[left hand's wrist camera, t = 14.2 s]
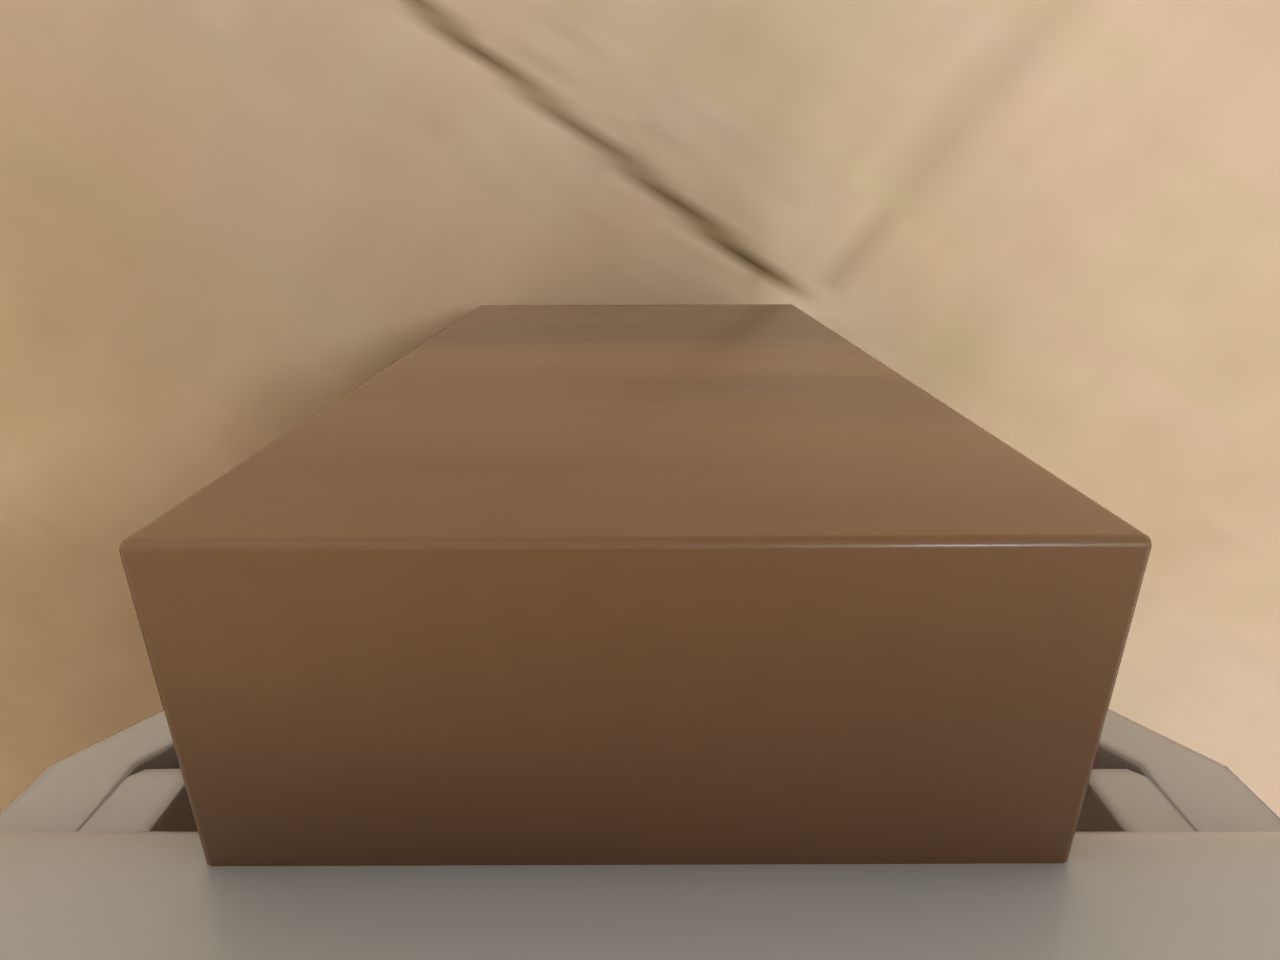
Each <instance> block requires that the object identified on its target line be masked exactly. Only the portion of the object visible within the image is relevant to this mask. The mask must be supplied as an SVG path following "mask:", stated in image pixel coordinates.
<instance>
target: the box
mask: <svg viewBox="0 0 1280 960" xmlns="http://www.w3.org/2000/svg"><path fill="white" fill-rule="evenodd" d="M1150 550H1151V540H1150V538H1149V537H1148V536H1147V535H1146V534H1144V533H1142V532H1141V531H1139V530H1138V529H1136V528H1135V527H1133V526H1132V525H1130V524H1129V523H1127V522H1126V521H1124V520H1122V519H1121V518H1119V517H1118V516H1116V515H1115V514H1113V513H1112V512H1110V511H1109V510H1107V509H1106V508H1104V507H1103V506H1101V505H1099V504H1098V503H1096V502H1095V501H1093V500H1092V499H1090V498H1089V497H1087V496H1086V495H1084V494H1083V493H1081V492H1079V491H1078V490H1076V489H1075V488H1073V487H1072V486H1070V485H1069V484H1067V483H1066V482H1064V481H1063V480H1061V479H1059V478H1058V477H1056V476H1055V475H1053V474H1052V473H1050V472H1049V471H1047V470H1046V469H1044V468H1043V467H1041V466H1039V465H1038V464H1036V463H1035V462H1033V461H1032V460H1030V459H1029V458H1027V457H1026V456H1024V455H1023V454H1021V453H1019V452H1018V451H1016V450H1015V449H1013V448H1012V447H1010V446H1009V445H1007V444H1006V443H1004V442H1003V441H1001V440H999V439H998V438H996V437H995V436H993V435H992V434H990V433H989V432H987V431H986V430H984V429H983V428H981V427H979V426H978V425H976V424H975V423H973V422H972V421H970V420H969V419H967V418H966V417H964V416H963V415H961V414H959V413H958V412H956V411H955V410H953V409H952V408H950V407H949V406H947V405H946V404H944V403H943V402H941V401H939V400H938V399H936V398H935V397H933V396H932V395H930V394H929V393H927V392H926V391H924V390H923V389H921V388H919V387H918V386H916V385H915V384H913V383H912V382H910V381H909V380H907V379H906V378H904V377H903V376H901V375H899V374H898V373H896V372H895V371H893V370H892V369H890V368H889V367H887V366H886V365H884V364H883V363H881V362H879V361H878V360H876V359H875V358H873V357H872V356H870V355H869V354H867V353H866V352H864V351H863V350H861V349H859V348H858V347H856V346H855V345H853V344H852V343H850V342H849V341H847V340H846V339H844V338H843V337H841V336H839V335H838V334H836V333H835V332H833V331H832V330H830V329H829V328H827V327H826V326H824V325H823V324H821V323H819V322H818V321H816V320H815V319H813V318H812V317H810V316H809V315H807V314H806V313H804V312H803V311H801V310H799V309H798V308H796V307H795V306H793V305H553V306H480V307H478V308H477V309H475V310H473V311H472V312H470V313H469V314H467V315H466V316H464V317H463V318H461V319H460V320H458V321H457V322H455V323H454V324H452V325H451V326H449V327H448V328H446V329H445V330H443V331H442V332H440V333H439V334H437V335H435V336H434V337H432V338H431V339H429V340H428V341H426V342H425V343H423V344H422V345H420V346H419V347H417V348H416V349H414V350H413V351H411V352H410V353H408V354H407V355H405V356H404V357H402V358H401V359H399V360H398V361H396V362H394V363H393V364H391V365H390V366H388V367H387V368H385V369H384V370H382V371H381V372H379V373H378V374H376V375H375V376H373V377H372V378H370V379H369V380H367V381H366V382H364V383H363V384H361V385H360V386H358V387H357V388H355V389H353V390H352V391H350V392H349V393H347V394H346V395H344V396H343V397H341V398H340V399H338V400H337V401H335V402H334V403H332V404H331V405H329V406H328V407H326V408H325V409H323V410H322V411H320V412H319V413H317V414H316V415H314V416H312V417H311V418H309V419H308V420H306V421H305V422H303V423H302V424H300V425H299V426H297V427H296V428H294V429H293V430H291V431H290V432H288V433H287V434H285V435H284V436H282V437H281V438H279V439H278V440H276V441H275V442H273V443H271V444H270V445H268V446H267V447H265V448H264V449H262V450H261V451H259V452H258V453H256V454H255V455H253V456H252V457H250V458H249V459H247V460H246V461H244V462H243V463H241V464H240V465H238V466H237V467H235V468H233V469H232V470H230V471H229V472H227V473H226V474H224V475H223V476H221V477H220V478H218V479H217V480H215V481H214V482H212V483H211V484H209V485H208V486H206V487H205V488H203V489H202V490H200V491H199V492H197V493H196V494H194V495H192V496H191V497H189V498H188V499H186V500H185V501H183V502H182V503H180V504H179V505H177V506H176V507H174V508H173V509H171V510H170V511H168V512H167V513H165V514H164V515H162V516H161V517H159V518H158V519H156V520H155V521H153V522H151V523H150V524H148V525H147V526H145V527H144V528H142V529H141V530H139V531H138V532H136V533H135V534H133V535H132V536H130V537H129V538H127V539H126V540H124V541H123V542H122V543H121V545H120V555H121V559H122V562H123V566H124V570H125V573H126V577H127V580H128V584H129V587H130V591H131V595H132V598H133V602H134V605H135V609H136V612H137V616H138V619H139V623H140V627H141V630H142V634H143V637H144V641H145V644H146V648H147V652H148V655H149V659H150V662H151V666H152V669H153V673H154V677H155V680H156V684H157V687H158V691H159V694H160V698H161V702H162V705H163V709H164V712H165V716H166V719H167V723H168V727H169V730H170V734H171V737H172V741H173V744H174V748H175V751H176V755H177V759H178V762H179V766H180V769H181V773H182V776H183V780H184V784H185V787H186V791H187V794H188V798H189V801H190V805H191V809H192V812H193V816H194V819H195V823H196V826H197V830H198V834H199V837H200V841H201V844H202V848H203V851H204V855H205V858H206V862H207V865H210V866H445V865H734V864H1022V863H1065V862H1067V860H1068V857H1069V853H1070V849H1071V845H1072V842H1073V838H1074V834H1075V831H1076V827H1077V823H1078V819H1079V816H1080V812H1081V808H1082V804H1083V801H1084V797H1085V793H1086V789H1087V786H1088V782H1089V778H1090V774H1091V771H1092V767H1093V763H1094V759H1095V756H1096V752H1097V748H1098V744H1099V741H1100V737H1101V733H1102V730H1103V726H1104V722H1105V718H1106V715H1107V711H1108V707H1109V703H1110V700H1111V696H1112V692H1113V688H1114V685H1115V681H1116V677H1117V673H1118V670H1119V666H1120V662H1121V658H1122V655H1123V651H1124V647H1125V644H1126V640H1127V636H1128V632H1129V629H1130V625H1131V621H1132V617H1133V614H1134V610H1135V606H1136V602H1137V599H1138V595H1139V591H1140V587H1141V584H1142V580H1143V576H1144V572H1145V569H1146V565H1147V561H1148V558H1149V554H1150Z"/></svg>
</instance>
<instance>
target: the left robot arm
mask: <svg viewBox="0 0 1280 960" xmlns="http://www.w3.org/2000/svg"><path fill="white" fill-rule="evenodd" d="M0 960H1280V818H1279V817H1278V816H1277V815H1276V814H1275V813H1274V812H1273V811H1272V810H1271V809H1270V808H1269V807H1268V806H1267V805H1266V804H1265V803H1264V802H1263V801H1262V800H1260V799H1259V798H1258V797H1257V796H1256V795H1255V794H1254V793H1253V792H1252V791H1251V790H1250V789H1249V788H1248V787H1247V786H1246V785H1245V784H1244V783H1243V782H1242V781H1241V780H1240V779H1239V778H1238V777H1237V776H1236V775H1235V774H1234V773H1233V772H1232V771H1231V770H1230V769H1229V768H1228V767H1226V766H1224V765H1222V764H1220V763H1218V762H1216V761H1214V760H1212V759H1210V758H1208V757H1206V756H1203V755H1201V754H1199V753H1197V752H1195V751H1193V750H1191V749H1189V748H1187V747H1185V746H1183V745H1181V744H1179V743H1177V742H1175V741H1173V740H1171V739H1169V738H1167V737H1165V736H1162V735H1160V734H1158V733H1156V732H1154V731H1152V730H1150V729H1148V728H1146V727H1144V726H1142V725H1140V724H1138V723H1136V722H1134V721H1132V720H1130V719H1128V718H1126V717H1123V716H1121V715H1119V714H1117V713H1115V712H1113V711H1111V710H1109V709H1108V711H1107V715H1106V718H1105V722H1104V726H1103V730H1102V733H1101V737H1100V741H1099V744H1098V748H1097V752H1096V756H1095V759H1094V763H1093V767H1092V771H1091V774H1090V778H1089V782H1088V786H1087V789H1086V793H1085V797H1084V801H1083V804H1082V808H1081V812H1080V816H1079V819H1078V823H1077V827H1076V831H1075V834H1074V838H1073V842H1072V845H1071V849H1070V853H1069V857H1068V860H1067V862H1065V863H1022V864H734V865H445V866H210V865H207V862H206V858H205V855H204V851H203V848H202V844H201V841H200V837H199V834H198V830H197V826H196V823H195V819H194V816H193V812H192V809H191V805H190V801H189V798H188V794H187V791H186V787H185V784H184V780H183V776H182V773H181V769H180V766H179V762H178V759H177V755H176V751H175V748H174V744H173V741H172V737H171V734H170V730H169V727H168V723H167V719H166V716H165V712H164V710H163V711H161V712H159V713H157V714H155V715H153V716H151V717H149V718H147V719H145V720H143V721H141V722H139V723H137V724H134V725H132V726H130V727H128V728H126V729H124V730H122V731H120V732H118V733H116V734H114V735H112V736H110V737H108V738H105V739H103V740H101V741H99V742H97V743H95V744H93V745H91V746H89V747H87V748H85V749H83V750H81V751H79V752H77V753H74V754H72V755H70V756H68V757H66V758H64V759H62V760H60V761H58V762H56V763H54V764H52V765H50V766H48V767H47V768H46V769H45V770H44V771H43V772H42V773H41V774H40V775H39V776H38V777H37V778H36V779H35V780H34V781H32V782H31V783H30V784H29V785H28V786H27V787H26V788H25V789H24V790H23V791H22V792H21V793H20V794H19V795H18V796H17V797H16V798H15V799H14V800H13V801H12V802H11V803H10V804H8V805H7V806H6V807H5V808H4V809H3V810H2V811H1V812H0Z"/></svg>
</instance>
